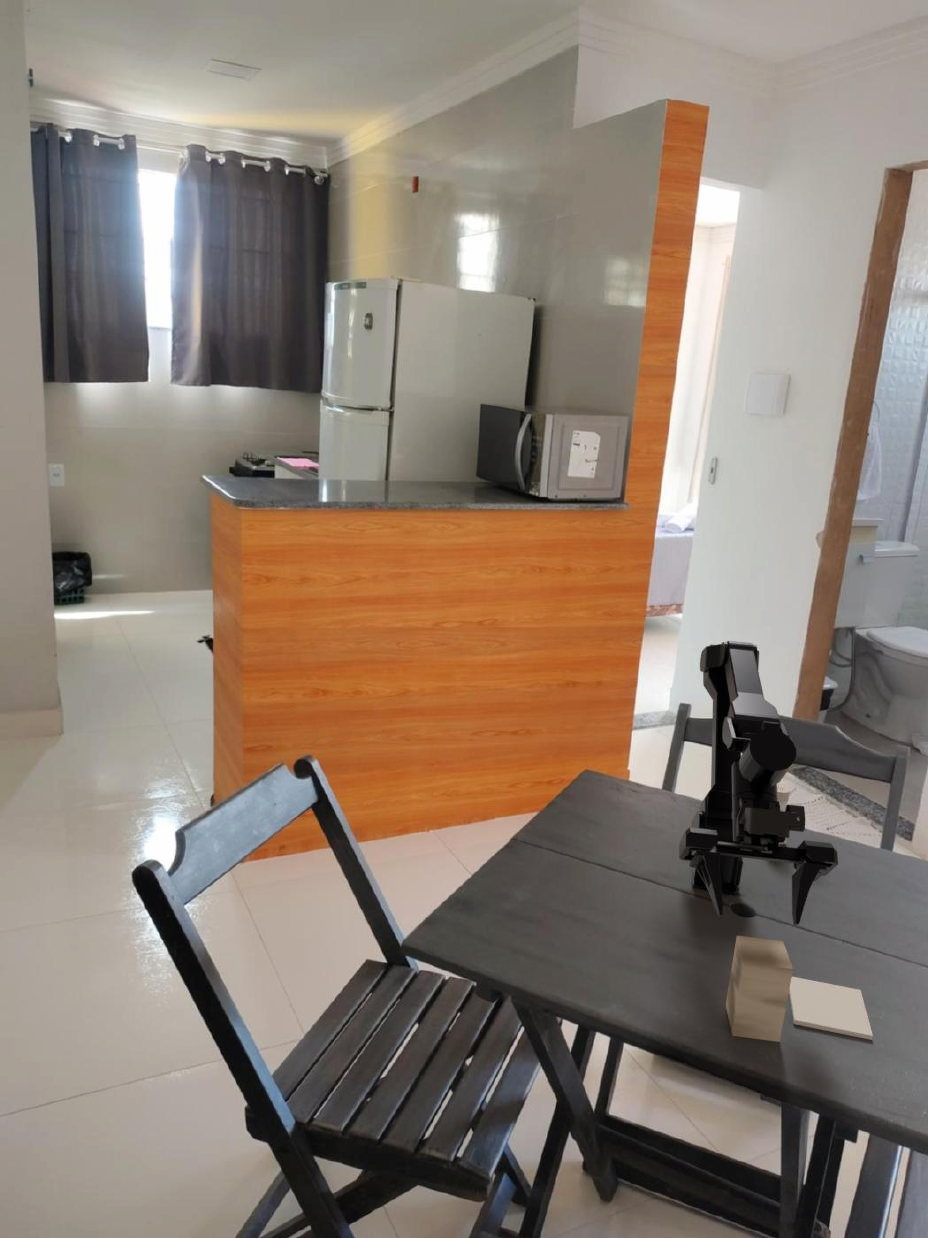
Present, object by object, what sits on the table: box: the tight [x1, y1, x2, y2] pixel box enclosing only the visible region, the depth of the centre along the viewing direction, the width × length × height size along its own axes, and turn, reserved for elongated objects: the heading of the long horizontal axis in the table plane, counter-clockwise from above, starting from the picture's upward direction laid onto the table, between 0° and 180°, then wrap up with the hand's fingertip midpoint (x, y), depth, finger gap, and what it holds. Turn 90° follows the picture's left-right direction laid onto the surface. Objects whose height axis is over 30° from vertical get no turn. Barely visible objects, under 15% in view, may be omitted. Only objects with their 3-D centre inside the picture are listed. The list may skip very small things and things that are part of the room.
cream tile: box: [788, 976, 874, 1041], centre depth 117 cm, size 9×9×1 cm
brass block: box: [725, 935, 794, 1043], centre depth 112 cm, size 6×6×10 cm
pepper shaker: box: [777, 784, 791, 845], centre depth 159 cm, size 4×4×10 cm
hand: (758, 920), depth 115 cm, fingers open, 9 cm apart
